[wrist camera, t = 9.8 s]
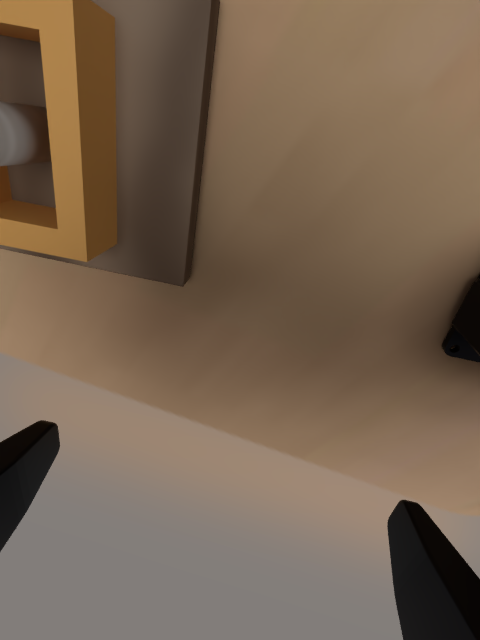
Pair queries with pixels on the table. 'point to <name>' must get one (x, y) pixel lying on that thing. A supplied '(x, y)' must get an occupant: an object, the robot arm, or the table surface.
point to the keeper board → (128, 131)
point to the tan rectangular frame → (69, 129)
